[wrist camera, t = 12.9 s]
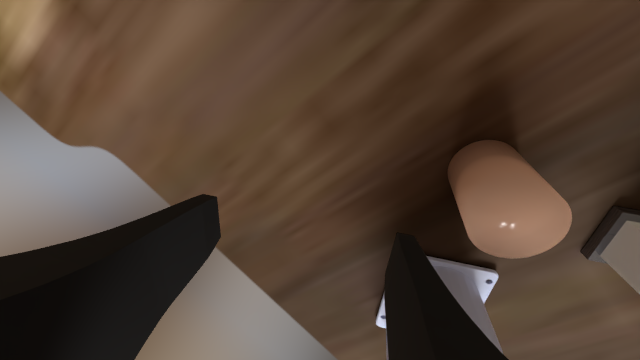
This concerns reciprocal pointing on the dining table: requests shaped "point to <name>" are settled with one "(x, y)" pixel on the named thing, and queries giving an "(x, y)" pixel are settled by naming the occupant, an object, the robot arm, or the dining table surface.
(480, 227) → the terracotta part
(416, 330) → the robot arm
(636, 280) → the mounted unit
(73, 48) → the dining table surface
